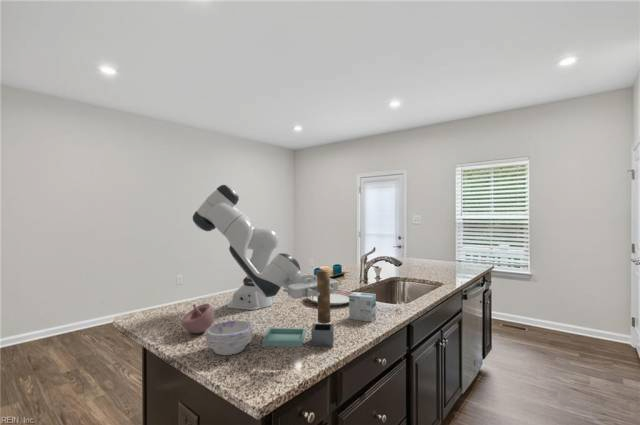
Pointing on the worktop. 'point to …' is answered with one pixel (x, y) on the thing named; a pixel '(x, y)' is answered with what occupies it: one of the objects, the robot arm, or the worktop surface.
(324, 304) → the dowel pin
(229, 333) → the paper bowls
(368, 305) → the light bulb box
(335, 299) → the dinner plate
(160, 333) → the worktop surface
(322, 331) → the grey square socket base
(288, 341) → the tray
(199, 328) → the mortar and pestle
